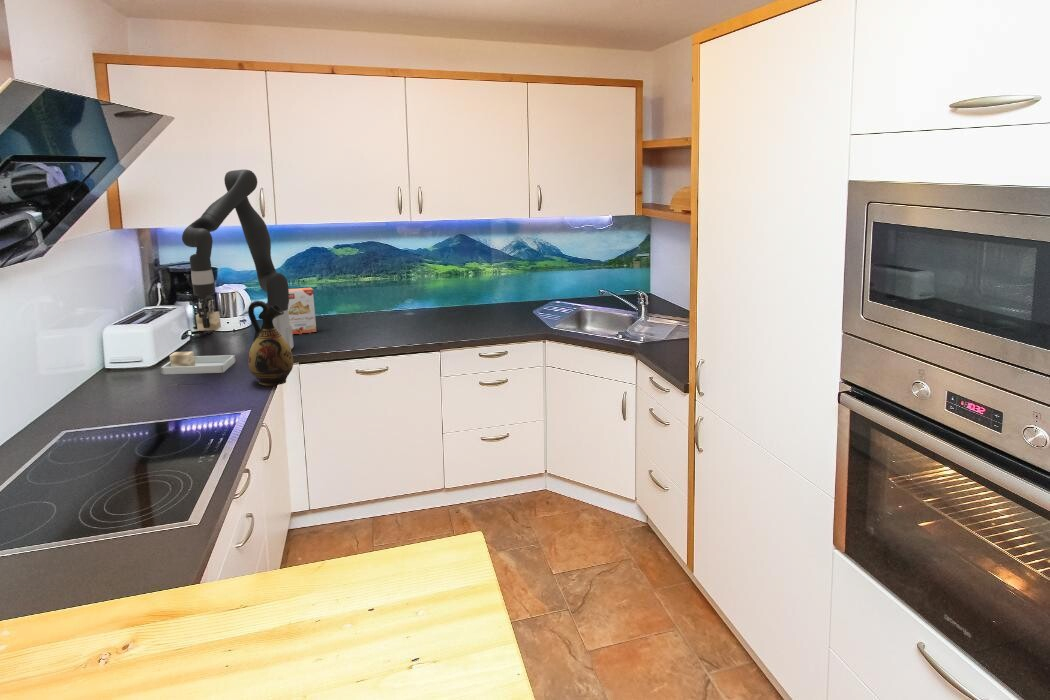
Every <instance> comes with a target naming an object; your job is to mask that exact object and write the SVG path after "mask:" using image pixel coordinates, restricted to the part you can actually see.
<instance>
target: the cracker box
mask: <svg viewBox="0 0 1050 700" xmlns="http://www.w3.org/2000/svg"><path fill="white" fill-rule="evenodd" d="M288 289H289V304H288V311H289V321H290V326H292V336H294V335H293V334H299V335H303V334H302V333H309V334H312V333H311V332H317V323H316V310H315V300H314V299H315V298H314V289H313V288H312V287H300V288H288Z"/></svg>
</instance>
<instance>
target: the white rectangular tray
mask: <svg viewBox="0 0 1050 700" xmlns="http://www.w3.org/2000/svg"><path fill="white" fill-rule="evenodd" d="M194 359H195V366H179V367H171V363H170V361H168V362H166V363H165V364H164V365H162V366H161V367H160V372H161V373H160V374H161V375H162V376H163V375H185V374H186V375H189V374H194V375H195V374H219V373H226V371H227V370H228V369H229V368H231V367H232V366H233V365H234V364H235V363H236V361H237V359H236V355H235V354H224V355H223V354H221V355H198V356H195V355H194Z"/></svg>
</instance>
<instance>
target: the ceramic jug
mask: <svg viewBox="0 0 1050 700" xmlns="http://www.w3.org/2000/svg"><path fill="white" fill-rule="evenodd" d="M266 303H267V302H265V301H261V300H255V301H252V302H251V303H250V304H249V306H248V308H247V309H248V310H247V312H248V316H249V320H250V322H251V324H252V326H253V329H254V334H253V340H252V341H253V343H252V344H251V347H250V349H249V353H248V361H247V362H248V369H249V372H250V373H251V375H252V376H254V377H255V378H256V379H257V380H258V384H259V385H262V386H266V387H267V386H268V387H277V386H279V385H284V384H286V383H287V379H288V377H289V375H290V373H291V372H292V370H293V367H294V356H293V353H292V349H291V350H290V347H289V346H288V344H287V342H286V341H285V339H284V338H283V337H282V335H281V334H280V333H279V332H278V331H277V330H276V328H275V327H274V325H273V319H274V318H276V317H278V316H280V315H283V314H284V312H283V311H282V310H281V308H280V307H279V306H277V305H274V306H271V307H270V308H268V306H267V304H266ZM258 307H260V308H261V309H262V311H261V312H260V313H259V314H258V319H259V320H262V324H261V328H260V325H259V323H258V321H257V318H256V314H255V308H258Z"/></svg>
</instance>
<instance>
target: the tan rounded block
mask: <svg viewBox="0 0 1050 700" xmlns="http://www.w3.org/2000/svg"><path fill="white" fill-rule="evenodd" d="M194 353H195V352H194V351H174V352H173V353H171V354H170V355H169V362H170V363H171V367H179V366H195V359H194V356H195V354H194Z"/></svg>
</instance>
